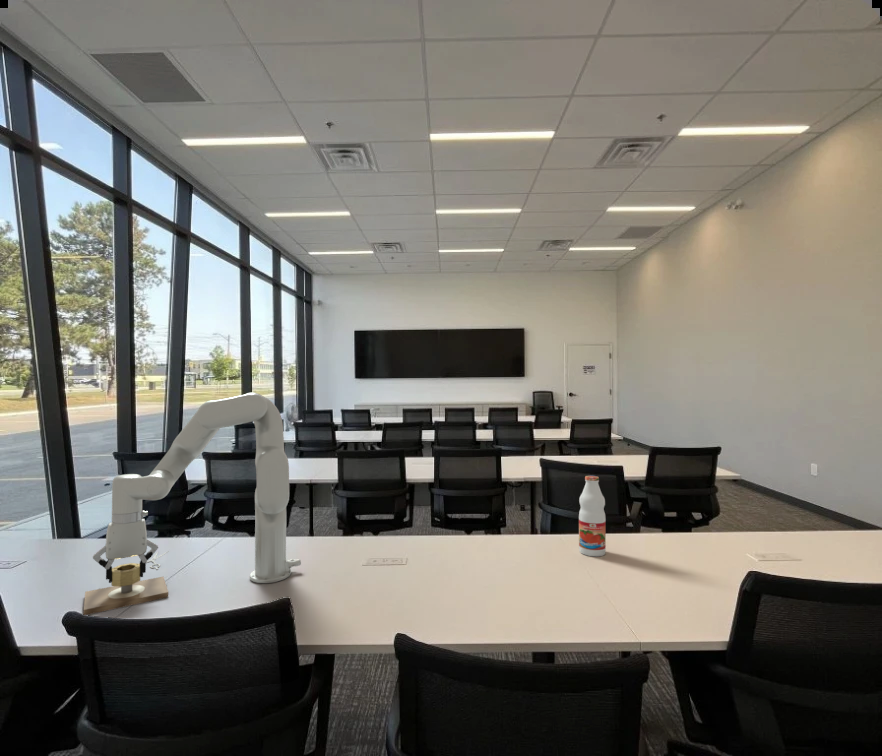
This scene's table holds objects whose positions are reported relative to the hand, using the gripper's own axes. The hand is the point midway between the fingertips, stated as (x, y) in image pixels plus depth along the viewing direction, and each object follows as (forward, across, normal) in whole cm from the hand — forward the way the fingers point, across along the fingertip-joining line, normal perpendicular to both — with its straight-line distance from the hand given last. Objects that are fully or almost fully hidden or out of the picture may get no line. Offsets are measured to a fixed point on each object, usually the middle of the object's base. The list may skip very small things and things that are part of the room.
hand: (126, 578), depth 143 cm
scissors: (+6, -9, -30) cm, 32 cm away
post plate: (+6, 0, 0) cm, 6 cm away
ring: (+1, 0, 0) cm, 1 cm away
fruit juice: (+4, -143, +53) cm, 153 cm away
